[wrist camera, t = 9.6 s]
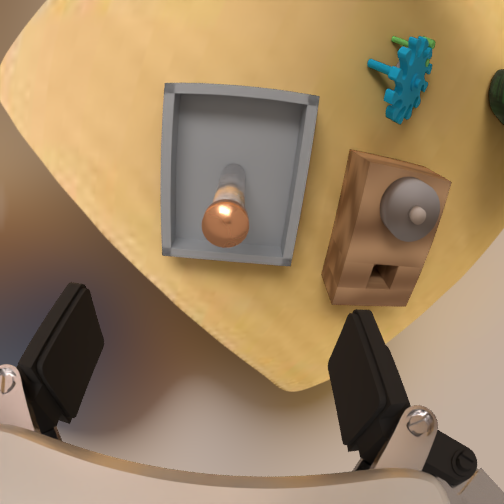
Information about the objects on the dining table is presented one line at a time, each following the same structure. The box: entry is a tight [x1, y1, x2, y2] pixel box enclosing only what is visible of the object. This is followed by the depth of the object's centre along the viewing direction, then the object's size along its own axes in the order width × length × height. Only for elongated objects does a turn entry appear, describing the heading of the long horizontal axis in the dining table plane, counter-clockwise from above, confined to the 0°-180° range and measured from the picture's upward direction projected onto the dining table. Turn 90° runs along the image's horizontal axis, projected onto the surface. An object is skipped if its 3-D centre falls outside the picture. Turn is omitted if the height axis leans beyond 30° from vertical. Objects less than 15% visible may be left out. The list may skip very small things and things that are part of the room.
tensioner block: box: [321, 150, 451, 306], centre depth 30 cm, size 16×10×9 cm, turn 174°
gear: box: [367, 36, 435, 124], centre depth 23 cm, size 11×6×10 cm
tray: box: [161, 83, 320, 266], centre depth 30 cm, size 18×14×4 cm
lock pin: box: [202, 163, 249, 248], centre depth 25 cm, size 3×3×13 cm
